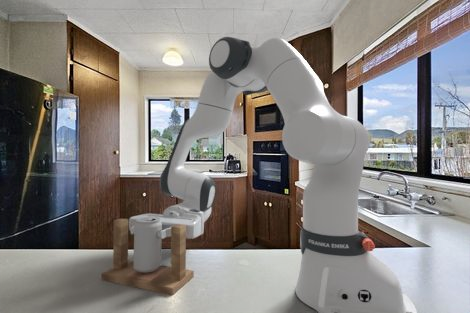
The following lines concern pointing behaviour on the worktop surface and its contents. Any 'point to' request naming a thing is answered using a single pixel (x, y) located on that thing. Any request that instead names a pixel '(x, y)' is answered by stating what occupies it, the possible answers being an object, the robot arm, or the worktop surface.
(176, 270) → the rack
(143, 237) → the beverage can
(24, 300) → the worktop surface
